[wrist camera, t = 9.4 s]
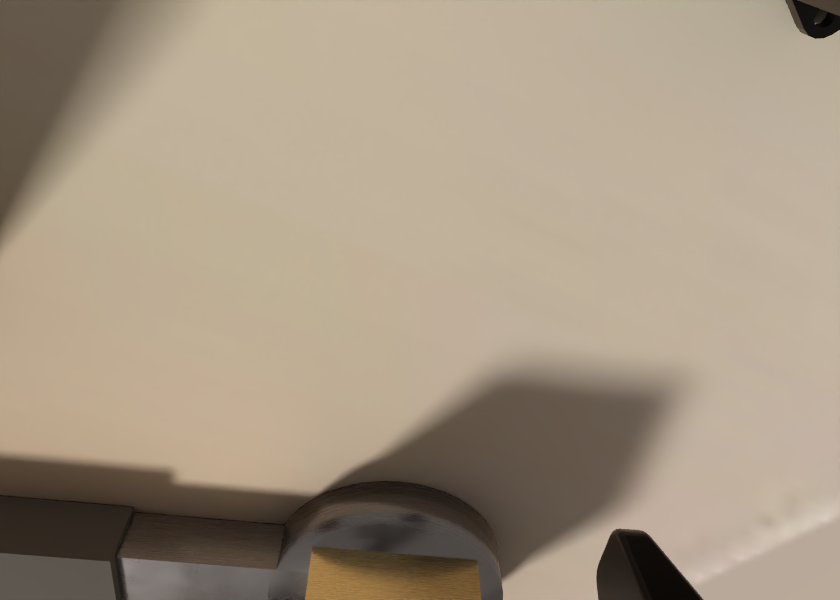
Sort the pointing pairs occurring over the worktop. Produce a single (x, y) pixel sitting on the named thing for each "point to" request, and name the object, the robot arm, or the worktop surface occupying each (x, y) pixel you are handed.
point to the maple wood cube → (389, 576)
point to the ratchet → (226, 546)
